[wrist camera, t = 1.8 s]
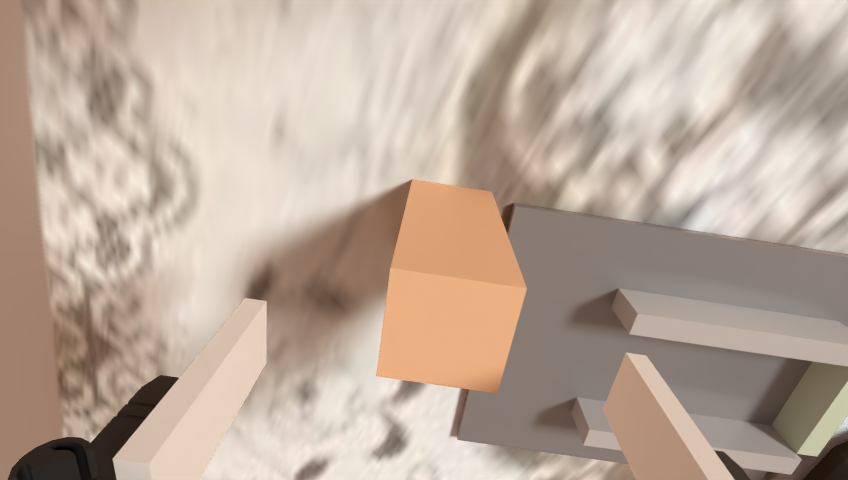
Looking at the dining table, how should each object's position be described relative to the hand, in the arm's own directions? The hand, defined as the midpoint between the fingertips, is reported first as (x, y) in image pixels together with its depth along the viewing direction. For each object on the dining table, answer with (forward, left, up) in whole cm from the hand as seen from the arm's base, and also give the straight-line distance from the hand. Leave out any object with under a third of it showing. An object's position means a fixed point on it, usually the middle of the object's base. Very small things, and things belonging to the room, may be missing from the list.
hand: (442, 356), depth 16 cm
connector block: (0, 0, -13) cm, 13 cm away
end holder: (+8, +17, -13) cm, 22 cm away
